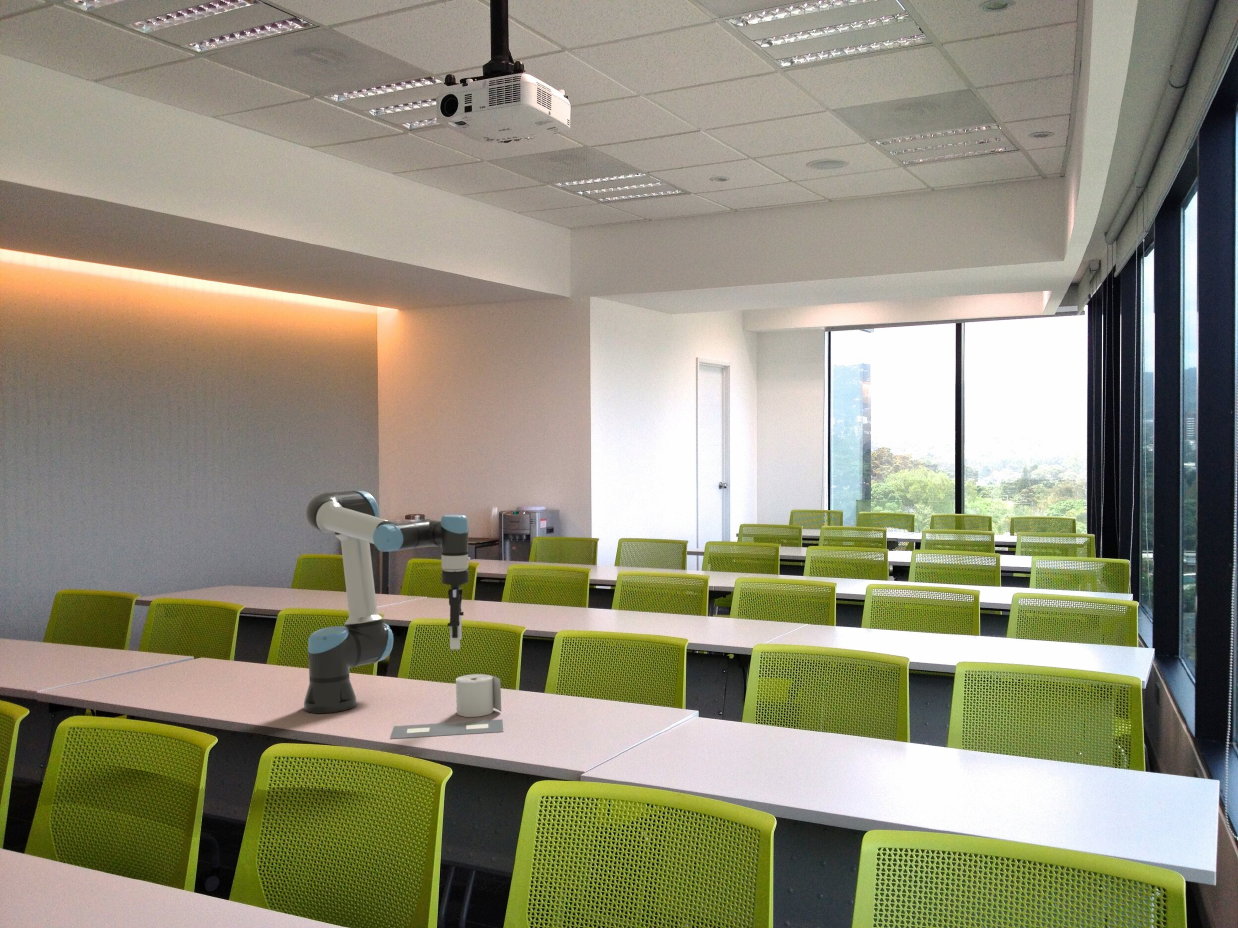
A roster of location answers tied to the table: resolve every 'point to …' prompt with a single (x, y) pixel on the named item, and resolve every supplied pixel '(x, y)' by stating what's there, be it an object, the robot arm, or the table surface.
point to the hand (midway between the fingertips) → (456, 643)
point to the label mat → (447, 729)
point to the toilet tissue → (477, 695)
